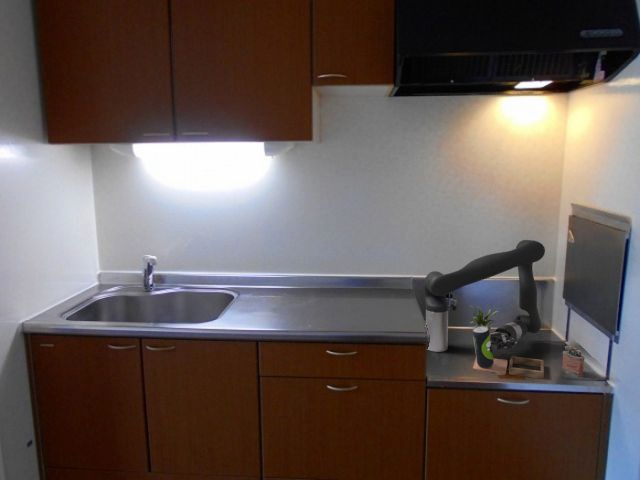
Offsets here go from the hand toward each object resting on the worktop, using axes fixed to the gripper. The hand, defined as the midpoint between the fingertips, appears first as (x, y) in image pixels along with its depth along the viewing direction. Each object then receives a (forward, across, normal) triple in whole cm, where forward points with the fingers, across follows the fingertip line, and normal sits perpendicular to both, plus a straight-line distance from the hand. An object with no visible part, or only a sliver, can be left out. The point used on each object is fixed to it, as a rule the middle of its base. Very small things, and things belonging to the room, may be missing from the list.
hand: (487, 344), depth 192 cm
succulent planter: (-18, +25, +10) cm, 32 cm away
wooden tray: (-8, +12, +10) cm, 17 cm away
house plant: (-23, -17, +10) cm, 31 cm away
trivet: (-3, 0, +10) cm, 10 cm away
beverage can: (0, 0, +9) cm, 9 cm away
